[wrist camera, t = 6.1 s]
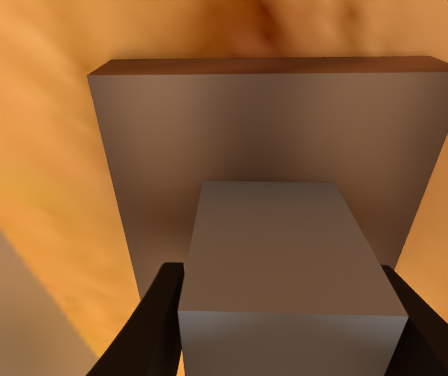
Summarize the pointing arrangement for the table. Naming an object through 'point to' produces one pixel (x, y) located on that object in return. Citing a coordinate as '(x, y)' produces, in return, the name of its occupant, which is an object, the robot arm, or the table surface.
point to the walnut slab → (268, 139)
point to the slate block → (284, 286)
